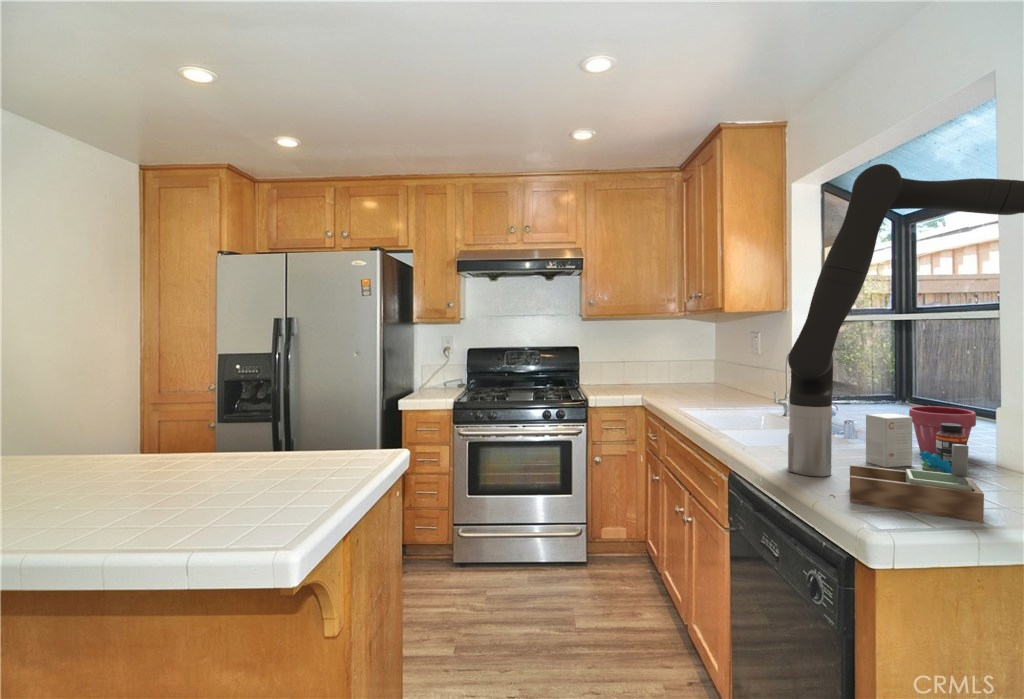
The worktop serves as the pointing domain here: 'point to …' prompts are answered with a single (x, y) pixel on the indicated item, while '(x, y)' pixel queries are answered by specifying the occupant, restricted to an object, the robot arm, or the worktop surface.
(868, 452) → the small box
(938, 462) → the gear
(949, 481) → the crate
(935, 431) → the plant pot
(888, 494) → the bay
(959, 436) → the supplement bottle
